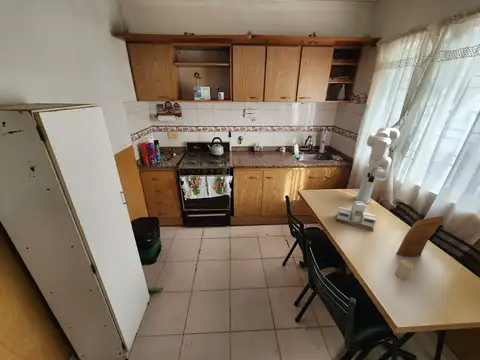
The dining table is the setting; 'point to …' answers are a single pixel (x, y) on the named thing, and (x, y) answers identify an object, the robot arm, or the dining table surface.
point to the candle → (404, 269)
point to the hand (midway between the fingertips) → (369, 179)
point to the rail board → (365, 223)
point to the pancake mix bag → (418, 237)
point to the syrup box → (357, 211)
